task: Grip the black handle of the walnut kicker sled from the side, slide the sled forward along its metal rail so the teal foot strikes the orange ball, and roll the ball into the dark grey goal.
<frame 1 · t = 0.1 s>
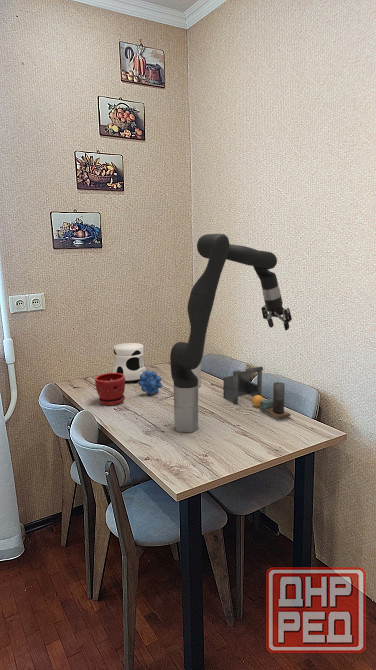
hand: (279, 328, 204), 31 cm above the table, tool tilted 20°, fingers open, 8 cm apart
goal: (241, 398, 206), on the table
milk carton: (191, 387, 223), on the table
ball: (257, 400, 195), point 2 cm above the table
rail: (278, 416, 184), on the table
milk container: (129, 379, 238), on the table
kicker sled: (275, 397, 184), point 7 cm above the table, slide at 0.0 cm
plant pot: (111, 402, 203), on the table
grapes: (151, 395, 212), on the table
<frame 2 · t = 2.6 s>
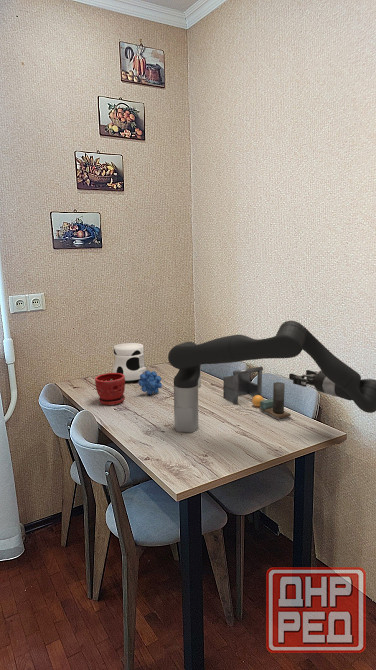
hand: (298, 374, 172), 20 cm above the table, tool horizontal, fingers open, 8 cm apart
nothing on the table moved.
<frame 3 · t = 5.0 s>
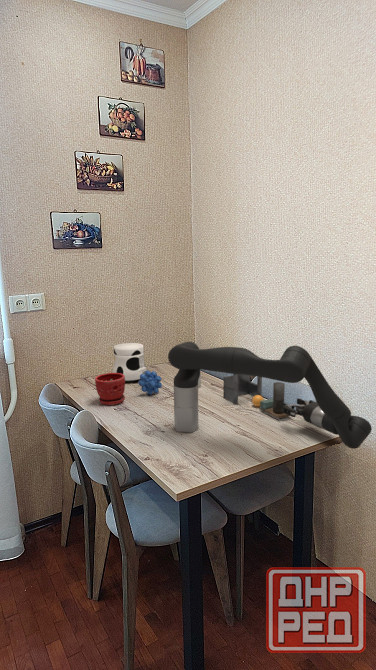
hand: (289, 402, 177), 8 cm above the table, tool horizontal, fingers open, 8 cm apart
nothing on the table moved.
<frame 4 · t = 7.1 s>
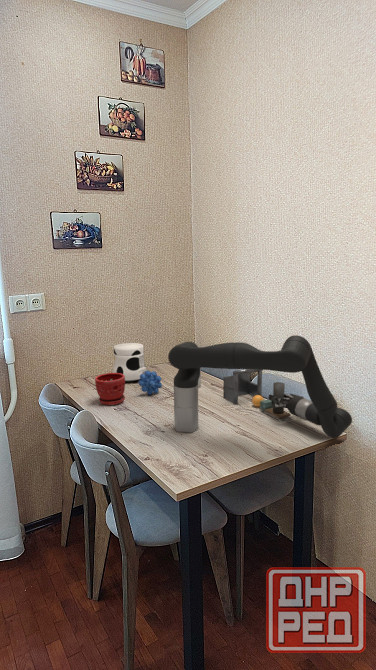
hand: (274, 395, 185), 8 cm above the table, tool horizontal, fingers closed on kicker sled, 4 cm apart
kicker sled: (275, 397, 184), point 7 cm above the table, slide at 0.0 cm, touching gripper
everything else where it was.
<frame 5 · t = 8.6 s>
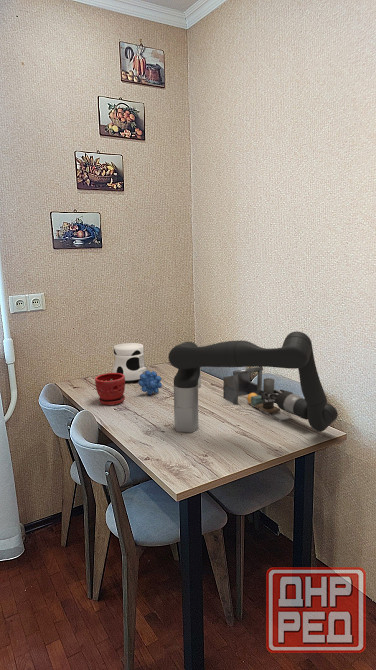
hand: (264, 391, 190), 8 cm above the table, tool horizontal, fingers closed on kicker sled, 4 cm apart
ball: (252, 398, 198), point 2 cm above the table, tilted 79°
kicker sled: (265, 393, 190), point 7 cm above the table, slide at 6.4 cm, touching gripper
everything else where it was.
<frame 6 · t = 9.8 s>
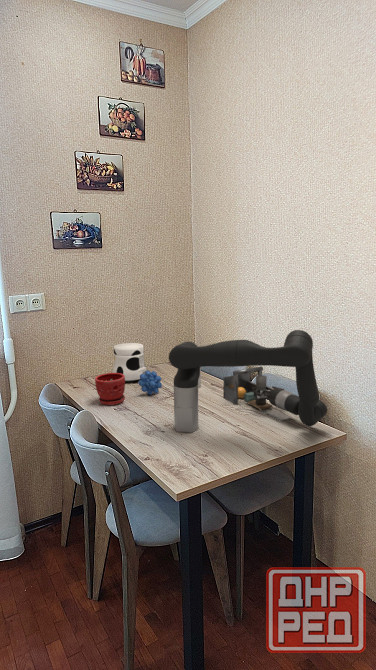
hand: (257, 388, 195), 8 cm above the table, tool horizontal, fingers closed on kicker sled, 4 cm apart
ball: (240, 392, 206), point 2 cm above the table, tilted 65°
kicker sled: (258, 389, 194), point 7 cm above the table, slide at 11.5 cm, touching gripper
everything else where it was.
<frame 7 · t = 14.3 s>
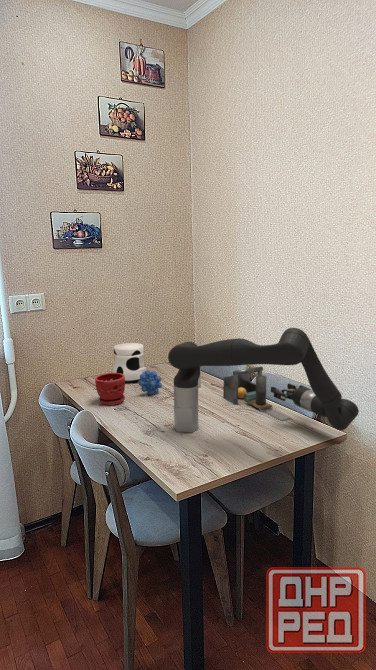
hand: (279, 387, 181), 13 cm above the table, tool horizontal, fingers open, 8 cm apart
ball: (241, 392, 206), point 2 cm above the table, tilted 77°
kicker sled: (258, 389, 194), point 7 cm above the table, slide at 11.5 cm
everything else where it was.
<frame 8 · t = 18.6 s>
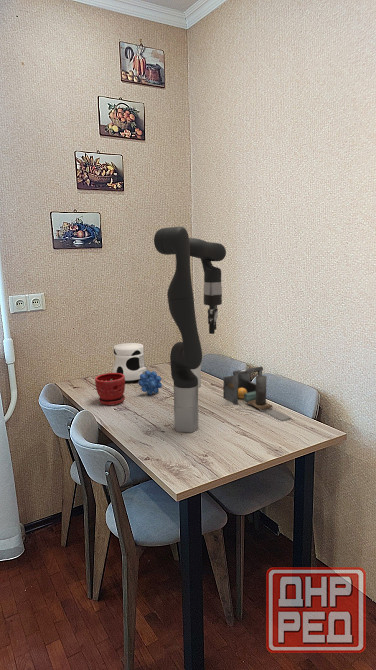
hand: (212, 331, 189), 33 cm above the table, tool pointing down, fingers open, 8 cm apart
ball: (241, 393, 205), point 2 cm above the table, tilted 89°
everything else where it was.
at the end: ball 0.1 cm from the goal (horizontally); ball point 2.5 cm above the table; kicker sled slide at 11.5 cm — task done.
